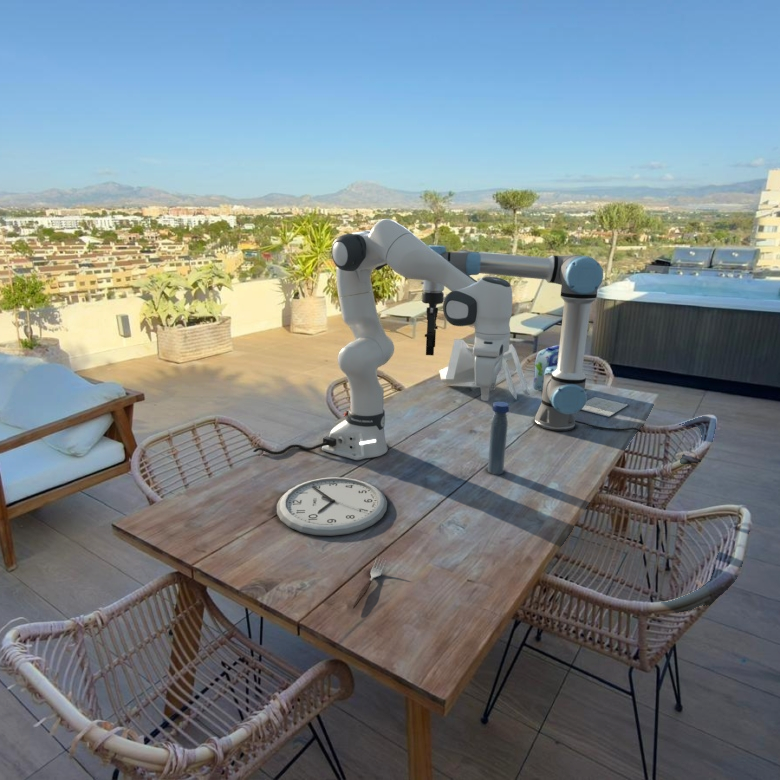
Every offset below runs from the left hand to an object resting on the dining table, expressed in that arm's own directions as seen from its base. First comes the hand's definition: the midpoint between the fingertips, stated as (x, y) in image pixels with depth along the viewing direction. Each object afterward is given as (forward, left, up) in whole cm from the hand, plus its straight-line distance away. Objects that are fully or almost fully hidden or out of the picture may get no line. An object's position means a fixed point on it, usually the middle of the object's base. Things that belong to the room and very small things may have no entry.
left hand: (488, 394), depth 137 cm
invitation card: (+34, +101, -31) cm, 111 cm away
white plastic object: (-19, +101, -31) cm, 108 cm away
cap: (+1, +21, -9) cm, 23 cm away
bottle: (+1, +21, -31) cm, 38 cm away
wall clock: (-37, -17, -31) cm, 52 cm away
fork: (-15, -45, -31) cm, 57 cm away
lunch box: (+13, +120, -31) cm, 125 cm away
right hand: (-29, +47, -1) cm, 55 cm away
